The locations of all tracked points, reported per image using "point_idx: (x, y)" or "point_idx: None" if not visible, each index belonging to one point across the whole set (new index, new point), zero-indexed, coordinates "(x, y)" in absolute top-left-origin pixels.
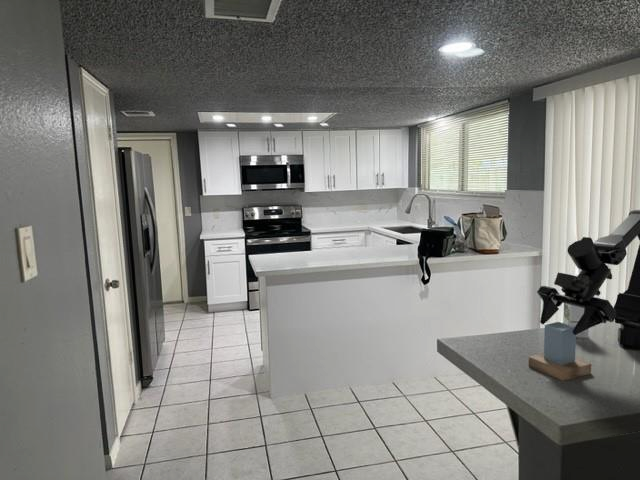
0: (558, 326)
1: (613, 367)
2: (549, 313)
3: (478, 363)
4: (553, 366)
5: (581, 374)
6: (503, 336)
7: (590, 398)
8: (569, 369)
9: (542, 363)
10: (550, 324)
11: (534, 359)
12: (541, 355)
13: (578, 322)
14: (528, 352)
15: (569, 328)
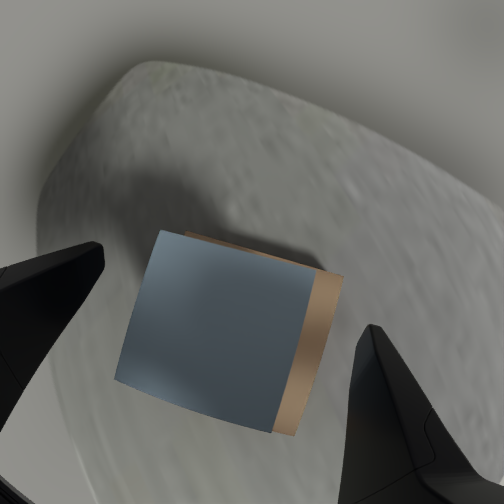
0: (217, 311)
1: (125, 472)
2: (364, 449)
3: (435, 178)
4: (226, 246)
5: None
6: (494, 459)
7: (107, 187)
8: None
9: (275, 257)
10: (288, 319)
11: (315, 268)
12: (315, 332)
13: (37, 270)
14: None
15: (136, 315)
